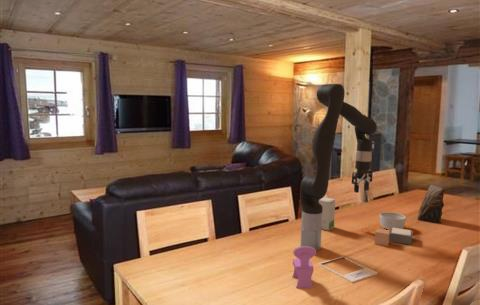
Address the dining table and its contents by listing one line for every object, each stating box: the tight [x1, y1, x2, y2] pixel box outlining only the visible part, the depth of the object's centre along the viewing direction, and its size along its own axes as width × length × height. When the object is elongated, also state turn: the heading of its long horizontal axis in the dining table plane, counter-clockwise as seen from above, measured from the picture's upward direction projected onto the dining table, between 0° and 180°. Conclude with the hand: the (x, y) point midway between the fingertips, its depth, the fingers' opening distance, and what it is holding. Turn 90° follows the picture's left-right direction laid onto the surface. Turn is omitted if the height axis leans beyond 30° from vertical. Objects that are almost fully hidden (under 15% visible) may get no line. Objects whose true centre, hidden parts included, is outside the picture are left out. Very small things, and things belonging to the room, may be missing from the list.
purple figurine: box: [291, 246, 317, 289], centre depth 135 cm, size 8×9×15 cm
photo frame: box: [317, 255, 379, 284], centre depth 148 cm, size 15×1×18 cm
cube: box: [374, 228, 390, 247], centre depth 176 cm, size 6×6×6 cm
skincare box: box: [318, 197, 336, 231], centre depth 196 cm, size 8×7×16 cm
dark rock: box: [417, 183, 445, 224], centre depth 212 cm, size 13×13×20 cm
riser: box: [389, 227, 414, 246], centre depth 181 cm, size 10×10×4 cm
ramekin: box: [379, 211, 407, 229], centre depth 198 cm, size 13×13×7 cm
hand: (361, 191), depth 187 cm, fingers open, 8 cm apart
